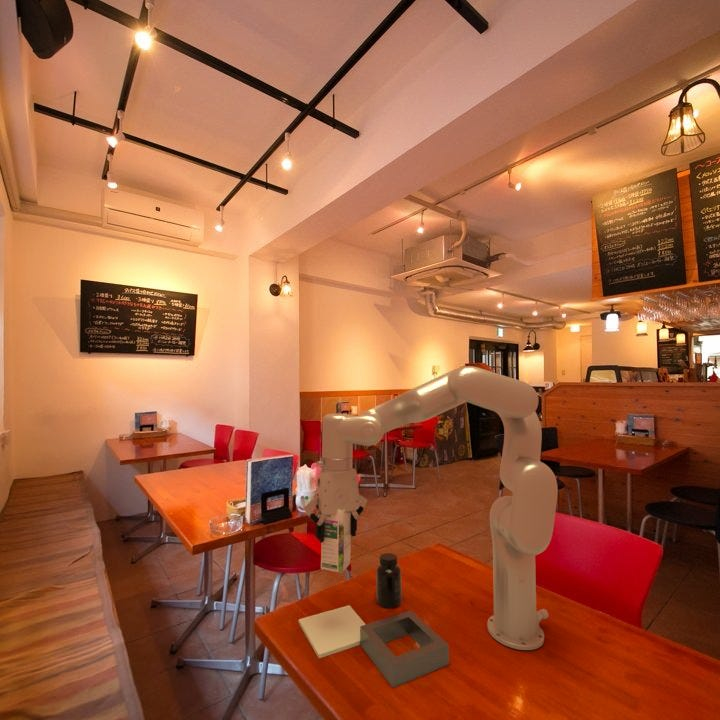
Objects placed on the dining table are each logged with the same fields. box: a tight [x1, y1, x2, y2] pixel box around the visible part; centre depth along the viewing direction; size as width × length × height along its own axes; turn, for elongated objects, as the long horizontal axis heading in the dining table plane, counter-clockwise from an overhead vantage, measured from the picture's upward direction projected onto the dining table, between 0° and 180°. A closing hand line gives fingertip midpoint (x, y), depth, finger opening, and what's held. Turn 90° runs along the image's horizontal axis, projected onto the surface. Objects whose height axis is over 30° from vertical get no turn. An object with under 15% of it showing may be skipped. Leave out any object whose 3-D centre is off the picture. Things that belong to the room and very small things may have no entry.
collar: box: [359, 610, 450, 688], centre depth 85 cm, size 14×14×4 cm
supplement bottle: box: [375, 552, 403, 609], centre depth 105 cm, size 7×7×12 cm
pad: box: [298, 604, 367, 659], centre depth 92 cm, size 14×14×1 cm
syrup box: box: [320, 508, 352, 574], centre depth 94 cm, size 6×6×14 cm
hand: (336, 537), depth 94 cm, fingers closed on syrup box, 7 cm apart
